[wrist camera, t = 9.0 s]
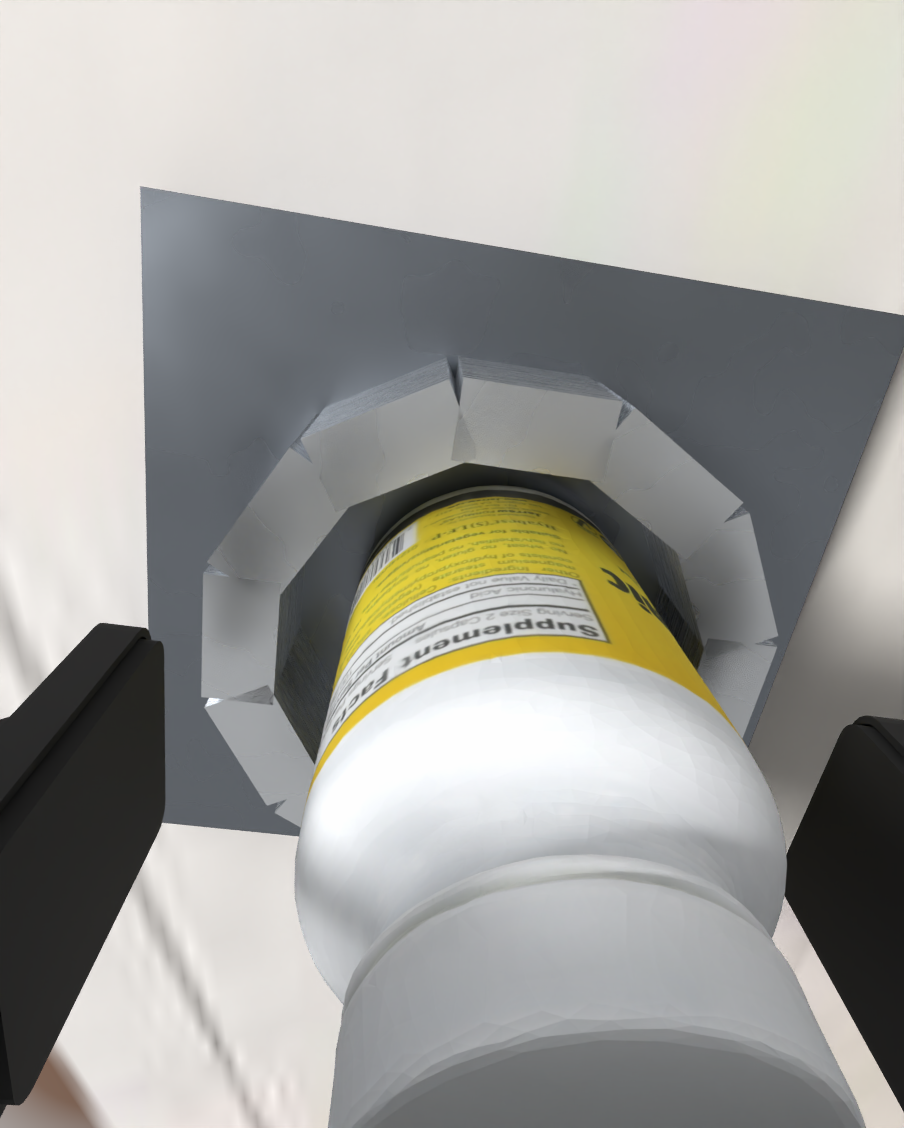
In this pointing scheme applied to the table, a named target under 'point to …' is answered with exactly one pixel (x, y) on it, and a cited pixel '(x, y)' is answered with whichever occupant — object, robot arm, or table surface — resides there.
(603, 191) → the table surface
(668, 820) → the supplement bottle
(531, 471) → the ring collar block
